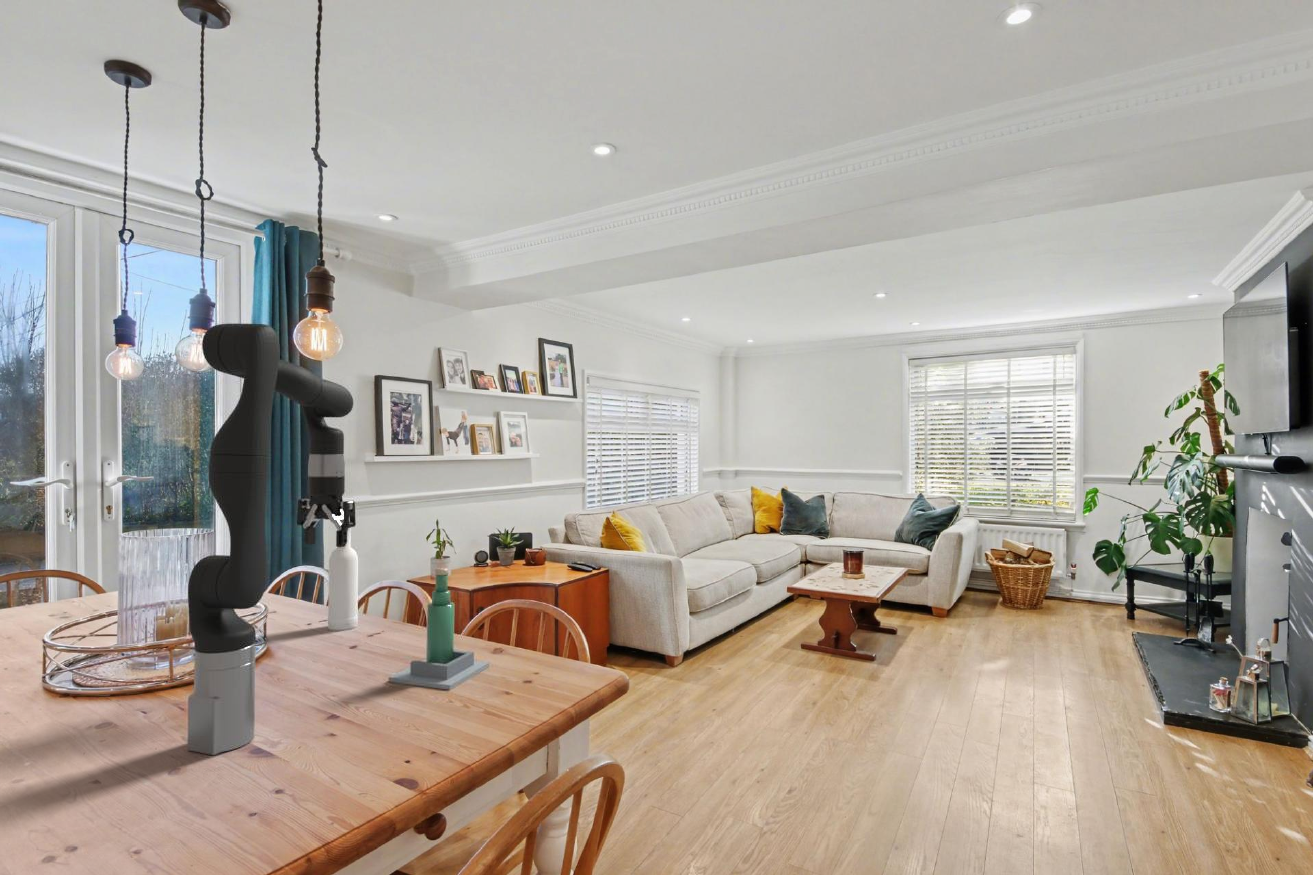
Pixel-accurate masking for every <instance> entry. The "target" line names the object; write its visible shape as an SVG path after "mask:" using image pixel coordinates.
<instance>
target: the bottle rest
mask: <svg viewBox="0 0 1313 875" xmlns="http://www.w3.org/2000/svg"><path fill="white" fill-rule="evenodd" d="M489 667H490V662H485V661H478V660H475V652H474V651H466V650H457V649H454V656H453V661H451V662H449V663H447V664H440V663H432V662H426V658H425V659H423V660H411V661H410V666H408V667H407V668H405V669H402V670H400V671H399V672H396V673H394V674H391V675H390V676H388V683H397V684H403V685H411V686H420V687H425V688H435V689H441V690H449V691H450V690H451V691H452V689H454V688H456V687H457V686H460V685H461V684H462V683H464V682H466V681H468V680H469V679H471V678H473V677H474V676H476V675H479V674H480V673H481V672H483V671H485V670H486V669H487V668H489Z"/></svg>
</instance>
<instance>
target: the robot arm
mask: <svg viewBox="0 0 1313 875" xmlns="http://www.w3.org/2000/svg"><path fill="white" fill-rule="evenodd" d="M201 346H202V347H201V349H202V354H203V356H204V359H205V360H206V363H207V364H208V365H209V366H210V367H211V368H212V369H213V370H215V371H218V372H220V373H223V374H227V375H231V376H234V377H238V378H240V379H241V378H242V379H243V383H242V388H241V393H240V398H239V399H238V401H237V403H236V406H235V407H234V409H233V410H232V412H231V414H229V416H228V417H227V419H225V421H224V423H223V424H222V425H221V427H220V428H219V430H218V431H217V433H216V434H215V436H214V438H213V439H212V441H211V443H210V449H209V462H208V476H207V477H208V484H209V488H210V490H211V494H212V495H213V497H214V500H215V501H216V503H217V506H218V507H219V509H220V510H221V512H222V514H223V516H224V519H225V522H226V523H227V527H228V531H229V540H230V546H229V550H230V551H229V555H228V554H227V555H226V554H225V555H223V554H221V555H219V554H216V555H214V554H213V555H208V556H205V557H203V558H201V559H199V561H198V562H197V563H196V564H195V565H194V567H193V568H192V570H191V572H190V576H189V578H188V585H187V602H188V604H187V605H188V606H187V607H188V625H189V632H190V635H191V637H192V639H193V642H194V661H193V662H194V666H193V668H194V669H193V670H194V671H193V673H194V676H193V693H192V694H190V695H189V696H188V698H187V700H188V703H187V704H188V706H187V708H188V710H187V751H191V752H196V753H202V754H207V755H212V756H215V755H217V754H219V753H223V752H228V751H231V750H235V749H238V748H241V747H243V746H246V745H247V744H249V743H251V741H253V740H254V738H255V718H256V717H255V715H256V714H255V711H256V710H255V707H256V706H255V704H256V703H255V702H256V701H255V699H256V640H257V638H256V635H257V634H256V628H255V627H254V626H253V625H252V624H251V623H249V622H247V621H245V620H244V619H242V618H241V617H240V616H239V615H238V614H237V611H235V610H248V609H252V608H253V607H255V606H256V605H257V604H258V603H259V602H260V601H261V600H262V598H263V596H264V594H265V591H266V587H267V582H268V551H267V533H266V532H267V529H266V525H267V524H266V520H267V519H266V516H267V514H266V513H267V511H266V510H267V491H268V480H269V469H270V468H269V466H270V442H271V441H270V438H271V424H272V412H273V406H274V405H273V404H274V397H275V393H278V394H280V395H282V396H284V397H286V398H287V399H289V400H290V401H293V402H294V403H296V404H299V405H300V406H301V411H302V413H303V416H304V419H305V424H306V427H307V432H308V435H309V457H308V462H307V465H308V466H307V495H308V496H310V498H301V499H300V498H299V499H298V500H297V513H296V525H297V526H301V527H303V529H304V543H305V545H306V546H312V545H315V544H316V539H317V538H316V535H317V534H316V532H317V530H316V526H317V524H318V523H319V521H321V520H322V519H323V520H328V521H330V523H332V524H334V526H335V528H336V531H335V532H336V533H335V535H336V536H335V543H336V544H335V546H336V548H337V547H344V546H345V545H346V544H347V530H348V529H349V528H351V529H352V528H354V527H356V524H357V521H356V520H357V519H356V502H355V500H346V501H345V500H343V496H344V494H345V492H346V490H345V488H346V487H345V486H346V485H345V483H346V482H345V481H346V478H345V477H346V475H345V474H346V470H345V469H346V464H345V449H344V448H345V436H344V434H345V433H344V431H343V430H342V429H340V428H335V427H331V426H329V425H328V424H327V422H326V420H325V418H343V417H346V416H347V415H349V414H350V413H351V412H352V410H353V408H354V398H353V395H352V394H351V392H350V391H349V390H348V388H346V387H345V386H343V385H341V384H339V383H336V382H333V381H331V380H328V379H324V378H320V377H319V376H317V375H316V374H314V373H312V372H311V371H309V370H308V369H307V368H305V367H303V366H300V365H298V364H296V363H293V362H291V361H286V360H283V359H280V357H281V356H280V355H281V354H280V353H281V348H280V346H281V345H280V342H279V337H278V334H277V332H276V331H275V330H274V329H273V327H272V326H270V325H268V324H266V323H265V324H264V323H221V324H216V325H213V326H211V327H210V328H208V329H207V330H206V332H205V333H204V335H203V338H202V342H201ZM337 530H338V531H337Z"/></svg>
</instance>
